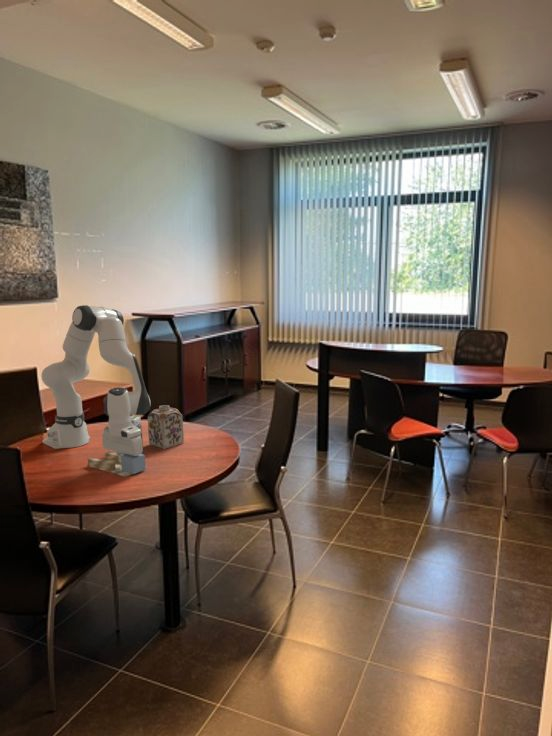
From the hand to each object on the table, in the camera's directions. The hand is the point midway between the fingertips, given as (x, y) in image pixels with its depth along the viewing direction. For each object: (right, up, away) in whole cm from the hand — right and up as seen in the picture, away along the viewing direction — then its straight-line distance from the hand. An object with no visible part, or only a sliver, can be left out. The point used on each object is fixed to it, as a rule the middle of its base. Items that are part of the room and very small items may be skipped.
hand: (123, 462), depth 213 cm
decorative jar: (+11, +3, +31) cm, 33 cm away
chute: (-4, -2, +3) cm, 5 cm away
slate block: (+5, -3, -3) cm, 7 cm away
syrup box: (-2, +1, +25) cm, 25 cm away
